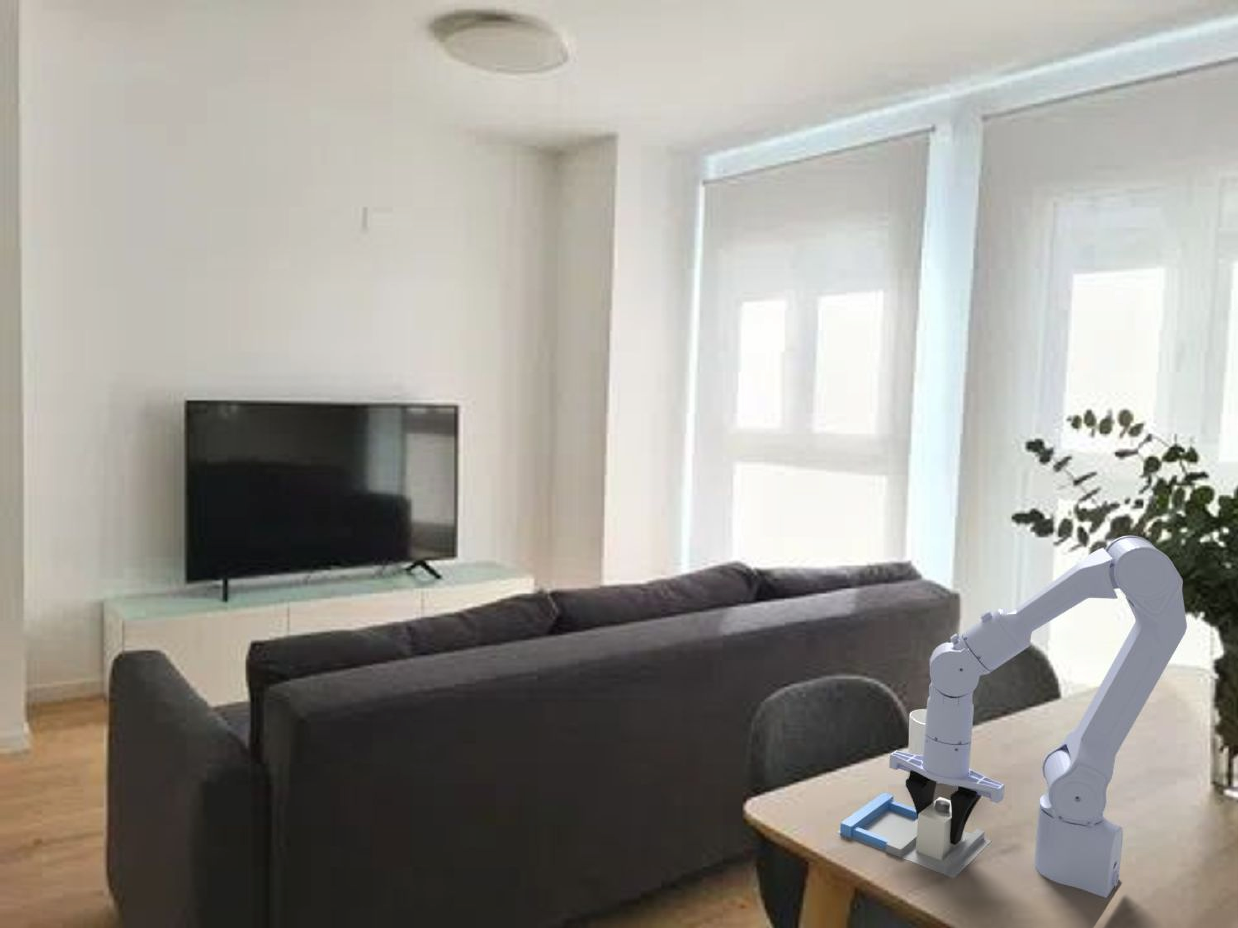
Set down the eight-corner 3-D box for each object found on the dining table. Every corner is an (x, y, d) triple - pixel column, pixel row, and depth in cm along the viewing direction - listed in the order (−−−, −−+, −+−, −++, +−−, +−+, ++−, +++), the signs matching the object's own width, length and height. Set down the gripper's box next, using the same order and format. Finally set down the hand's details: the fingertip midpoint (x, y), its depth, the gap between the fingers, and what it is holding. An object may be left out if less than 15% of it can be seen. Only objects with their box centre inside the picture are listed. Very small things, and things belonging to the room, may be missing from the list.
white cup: (923, 793, 140) (928, 729, 139) (895, 770, 147) (899, 710, 146) (968, 788, 142) (973, 725, 141) (938, 767, 150) (942, 707, 149)
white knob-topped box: (962, 841, 123) (966, 798, 123) (941, 860, 118) (945, 816, 118) (937, 831, 126) (940, 790, 125) (915, 850, 121) (918, 807, 120)
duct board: (991, 847, 124) (992, 829, 124) (953, 885, 114) (954, 866, 114) (879, 807, 134) (880, 791, 134) (836, 839, 125) (837, 821, 124)
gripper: (1015, 743, 119) (1007, 844, 120) (907, 713, 128) (900, 807, 130) (996, 759, 113) (987, 865, 115) (885, 726, 123) (878, 824, 124)
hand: (940, 835), depth 122 cm, fingers closed on white knob-topped box, 3 cm apart
